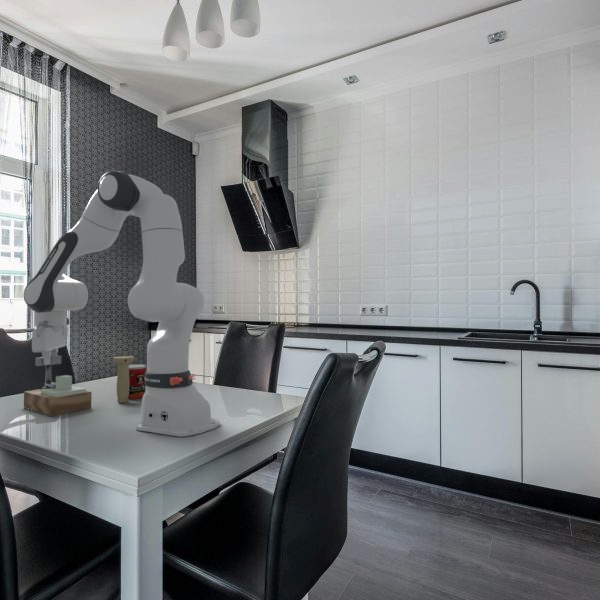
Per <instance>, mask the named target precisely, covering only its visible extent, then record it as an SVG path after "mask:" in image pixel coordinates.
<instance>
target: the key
mask: <svg viewBox="0 0 600 600" xmlns="http://www.w3.org/2000/svg"><path fill="white" fill-rule="evenodd" d="M50 357H51V359H52V361H51V364H49V365H44V359H43V356H41V357H35V366H37V367H41V366H44V367H45V381H44V386H42V388H41V389H42V390H44V389H50V388H56V382H53V381H52V365H61V364H62V357H63V356H62V355H57V356H50Z"/></svg>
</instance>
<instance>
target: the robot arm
mask: <svg viewBox="0 0 600 600" xmlns="http://www.w3.org/2000/svg"><path fill="white" fill-rule="evenodd" d="M129 216H133V217H137V218H139V219H140V228H141V230H140V231H141V243H142V259H143V260H142V267H141V271H140V276H139V278H138V280H137V282H136V283H135V285H133V286H132V287H131V288H130V290H129V293H128V295H127V306H128V309H129V311H130V314H131V315H133V316H134V318H136V319H140V320H143V321H147V322H150V323H151V322H152V323H157V322H158V326H157V329H156V331H155V333H154V334H153V336H152V337H151V338H150V339H149V341H148V342H147V345H146V372H145V385H146V390H145V393H144V395H143V398H141V407H140V416H139V423H137V425H136V431H141V432H146V433H147V432H149V433H153V434H161V435H166V436H173V437H174V436H175V437H189V436H194V435H199V434H202V433H206V432H208V431H209V432H210V431H212V430H214V429H215V428H217V427H218V426H220V424H221V423H220V420H218V419H216V418H213V417H212V412H211V411H212V410H211V405H210V402H209V401H208V400H207V399H206V398H205V397H204V396H203V395H202V394H201V393H200V391H199V390H198V389H197V388H196V387H195V386H194V385H193V384H194V382H193V380H196V378H195V377H196V374H191V370H189V361H190V359H189V357H190V355H189V354H190V341H191V336H192V333H193V328H194V325H195V322H196V320H197V317H198V316H199V315H200V314H201V312H202V311H203V309H204V306H205V299H204V295H203V293H202V291H201V290H199V289H198V288H197V287H195V286H193V285H191V284H189V283H185V282H177V277H178V271H179V268H180V266H181V265H182V264H183V263H184V261H185V260H186V254H185V244H184V233H183V224H182V220H181V215H180V211H179V208H178V203H177V201H176V200H175V199H174V197H172V196H171V195H170V194H169V192H167V191H166V190H165V189H164V188H163V187H161V186H159V185H158V184H154V183H152V182H151V181H149V180H145V178H143V177H139V176H138V175H133V174H129V173H126V172H124V171H121V170H120V171H119V170H108V171H107V172H105V173H104V174H103V175H102V176H101V177H100V179H99V181H98V185H97V189H96V191H95V192H94V193H93V195H92V196H91V198H90V199H89V201H88V203H87V204H86V206H85V208H84V211H83V212H82V215H81V216H80V219H79V220H78V221H77V223H76V224H75V225H74V226H73V227H72V228H71V229H70V230H68V231H66V232H64V233H63V234H62V235H61V236H60V237H59V239H58V240H57V241H56V243H55V244H54V245H53V247H52V249H51V250H50V252H49V254H48V255H47V257H46V259H45V260H44V262H43V263H42V265H41V267H40V268H39V270H38V271H37V273H36V275H35V276H34V277H33V278H31V279H30V281H29V282H28V283H27V284H26V286H25V288H24V290H23V300H24V303H25V304H26V305H27V306H28V307H29V308H30V310H32V311H34V315H33V316H34V317H33V318H34V320H33V321H34V328H33V331H32V337H31V339H32V340H31V351H32V353H41V357H43V359H44V366H46V365H49V364H51V361H52V359H51V357H50V356H58V352H59V349H60V348H63V347H66V345H67V343H68V335H69V333H68V331H69V329H68V326H69V325H70V318H69V317H68V316H67V312H68V311H69V312H73V311H81V310H84V308H86V307H87V305H88V304H89V302H90V299H91V298H90V297H91V293H90V289H89V287H88V286H87V284H85V283H84V282H82V281H79V280H76V279H74V278H71V277H70V276H68V275H67V274H66V273H65V271H66V270H67V268H68V267H69V265H70V264H71V263H72V261H73V260H75V259H77V258H79V257H81V256H84V255H88V254H91V253H92V254H93V253H97V252H101V251H105V250H107V249H109V248H110V247H111V246H112V245H113V244H114V243H115V242H116V240H117V238H118V236H119V234H120V231H121V230H122V227H123V224H124V221H125V220H126V219H127V217H129Z"/></svg>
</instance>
